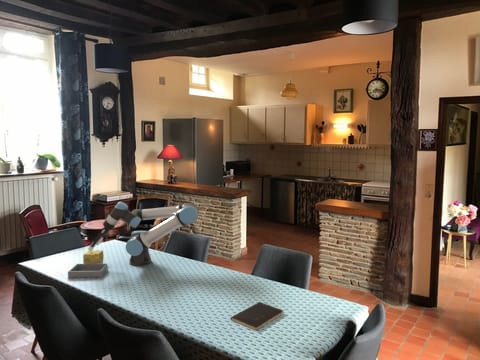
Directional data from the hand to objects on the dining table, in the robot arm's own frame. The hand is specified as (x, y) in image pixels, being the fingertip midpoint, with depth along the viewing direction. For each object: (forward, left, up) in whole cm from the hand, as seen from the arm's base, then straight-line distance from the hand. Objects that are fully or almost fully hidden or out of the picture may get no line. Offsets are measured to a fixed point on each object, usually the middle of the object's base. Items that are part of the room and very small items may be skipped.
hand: (93, 247), depth 253 cm
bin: (0, +10, -15) cm, 18 cm away
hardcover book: (-105, +73, -16) cm, 129 cm away
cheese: (+2, -6, -16) cm, 17 cm away
